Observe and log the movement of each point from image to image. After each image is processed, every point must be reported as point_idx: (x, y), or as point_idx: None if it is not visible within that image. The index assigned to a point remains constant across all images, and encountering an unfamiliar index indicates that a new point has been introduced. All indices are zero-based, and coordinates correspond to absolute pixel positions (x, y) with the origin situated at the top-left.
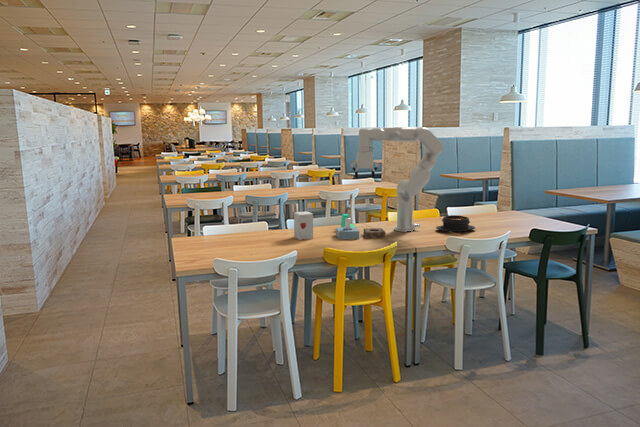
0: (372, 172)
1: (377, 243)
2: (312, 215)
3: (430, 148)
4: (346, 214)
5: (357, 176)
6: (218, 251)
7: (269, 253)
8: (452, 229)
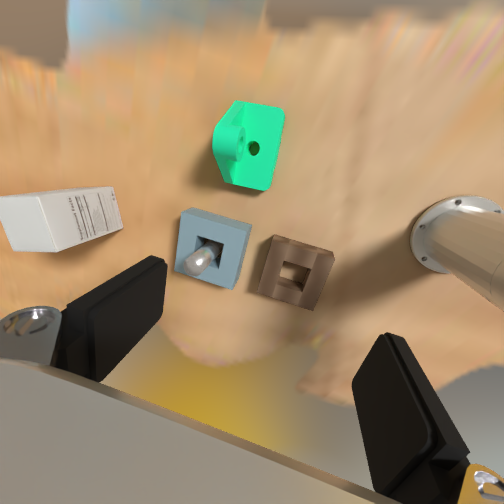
0: (373, 481)
1: (261, 335)
2: (60, 250)
3: None
4: (228, 147)
5: (142, 332)
6: None
7: (40, 303)
8: None
